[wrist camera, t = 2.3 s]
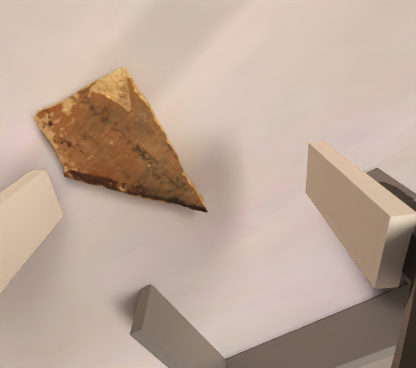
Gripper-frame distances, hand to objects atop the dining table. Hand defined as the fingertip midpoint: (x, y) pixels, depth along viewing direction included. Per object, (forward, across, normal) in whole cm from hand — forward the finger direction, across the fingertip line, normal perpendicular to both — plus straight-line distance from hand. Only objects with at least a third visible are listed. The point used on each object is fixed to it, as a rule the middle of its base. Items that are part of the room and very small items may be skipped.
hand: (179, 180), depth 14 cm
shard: (+8, +1, 0) cm, 8 cm away
